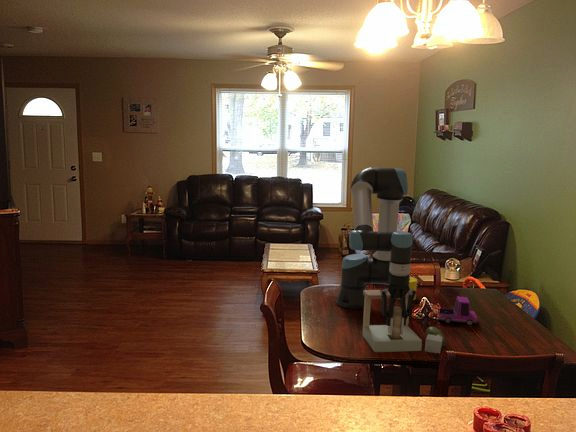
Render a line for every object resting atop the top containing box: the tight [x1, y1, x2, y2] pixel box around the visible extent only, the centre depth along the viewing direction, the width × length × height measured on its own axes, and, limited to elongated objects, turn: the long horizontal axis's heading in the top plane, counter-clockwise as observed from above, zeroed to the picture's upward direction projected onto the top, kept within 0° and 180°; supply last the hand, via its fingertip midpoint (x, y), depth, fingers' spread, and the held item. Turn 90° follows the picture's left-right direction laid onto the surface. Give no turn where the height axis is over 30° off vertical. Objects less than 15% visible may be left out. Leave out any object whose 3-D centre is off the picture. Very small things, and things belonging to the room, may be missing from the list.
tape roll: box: [398, 276, 418, 301], centre depth 255 cm, size 10×10×9 cm
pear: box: [425, 326, 447, 347], centre depth 202 cm, size 6×5×10 cm
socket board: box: [361, 324, 423, 353], centre depth 200 cm, size 16×18×4 cm
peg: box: [390, 306, 402, 340], centre depth 195 cm, size 4×4×14 cm
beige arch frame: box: [362, 289, 417, 328], centre depth 204 cm, size 6×19×14 cm, turn 98°
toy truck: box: [437, 295, 478, 326], centre depth 226 cm, size 11×16×10 cm
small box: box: [424, 334, 443, 354], centre depth 195 cm, size 6×6×5 cm
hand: (395, 333), depth 196 cm, fingers closed on peg, 3 cm apart
